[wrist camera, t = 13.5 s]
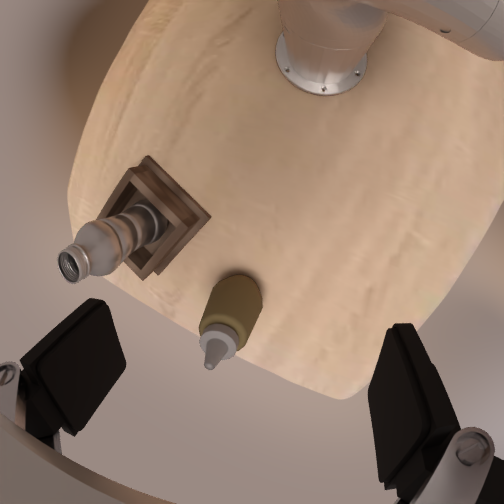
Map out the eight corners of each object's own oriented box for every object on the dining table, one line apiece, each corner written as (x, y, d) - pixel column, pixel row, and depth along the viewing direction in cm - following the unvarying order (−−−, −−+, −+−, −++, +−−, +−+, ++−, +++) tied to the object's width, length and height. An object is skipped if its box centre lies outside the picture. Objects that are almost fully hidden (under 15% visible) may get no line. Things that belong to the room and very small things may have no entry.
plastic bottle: (136, 233, 45) (53, 287, 26) (138, 193, 42) (45, 230, 24) (170, 241, 44) (94, 305, 25) (174, 199, 41) (88, 243, 23)
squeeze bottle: (208, 295, 47) (165, 366, 31) (231, 258, 44) (190, 324, 28) (249, 319, 48) (225, 399, 31) (275, 285, 45) (259, 363, 28)
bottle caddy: (106, 217, 46) (85, 227, 40) (148, 155, 41) (128, 158, 35) (160, 273, 48) (144, 289, 42) (211, 217, 43) (198, 228, 37)
